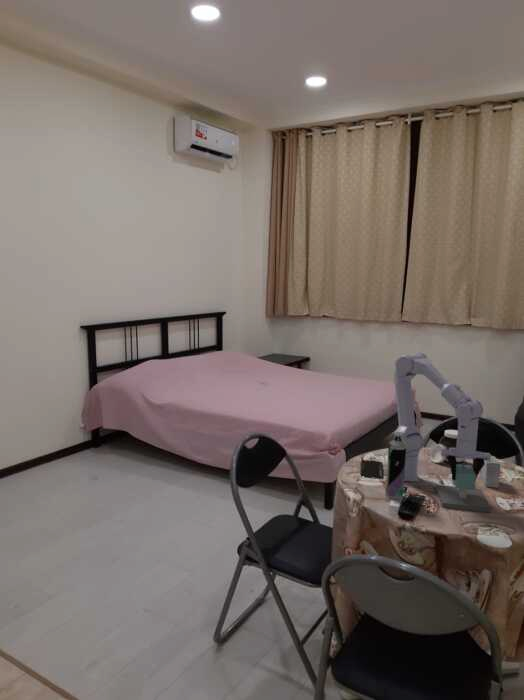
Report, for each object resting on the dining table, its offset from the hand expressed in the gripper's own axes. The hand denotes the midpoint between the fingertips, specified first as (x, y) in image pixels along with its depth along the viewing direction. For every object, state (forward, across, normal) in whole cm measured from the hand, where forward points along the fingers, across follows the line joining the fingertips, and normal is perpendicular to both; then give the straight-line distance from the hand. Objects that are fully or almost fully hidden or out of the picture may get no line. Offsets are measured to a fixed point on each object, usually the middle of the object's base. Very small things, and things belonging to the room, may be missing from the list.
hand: (463, 480), depth 160 cm
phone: (+7, -28, +19) cm, 35 cm away
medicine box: (+7, +12, +17) cm, 22 cm away
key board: (+7, 0, 0) cm, 7 cm away
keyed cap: (+1, 0, 0) cm, 1 cm away
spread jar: (+7, +1, +35) cm, 36 cm away
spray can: (+7, -21, -2) cm, 22 cm away
